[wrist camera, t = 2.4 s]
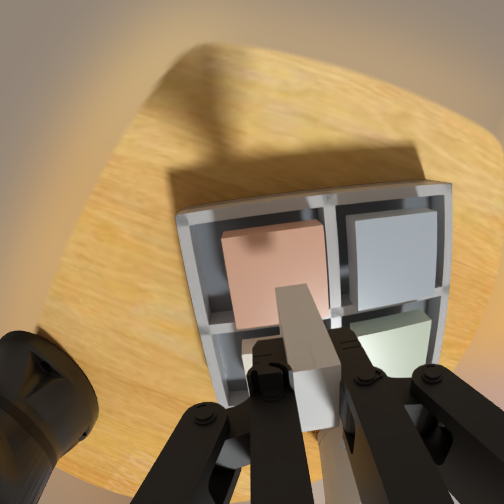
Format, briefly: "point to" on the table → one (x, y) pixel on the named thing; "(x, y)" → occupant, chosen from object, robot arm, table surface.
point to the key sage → (395, 341)
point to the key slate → (391, 256)
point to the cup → (336, 468)
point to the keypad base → (335, 235)
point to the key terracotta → (274, 268)
